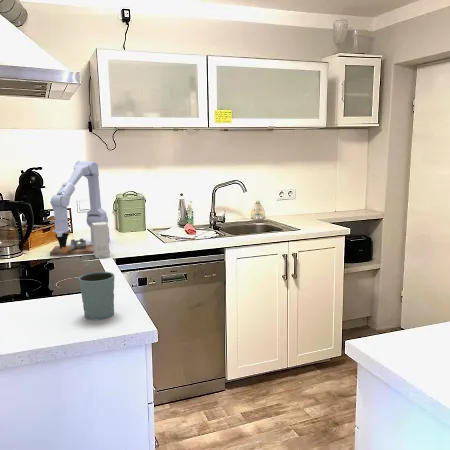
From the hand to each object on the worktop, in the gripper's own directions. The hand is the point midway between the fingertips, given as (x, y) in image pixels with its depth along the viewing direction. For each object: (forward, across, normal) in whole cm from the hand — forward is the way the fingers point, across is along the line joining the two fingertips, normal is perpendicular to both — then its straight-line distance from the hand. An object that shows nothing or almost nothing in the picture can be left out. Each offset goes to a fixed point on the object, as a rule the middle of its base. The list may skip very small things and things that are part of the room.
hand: (63, 249), depth 214 cm
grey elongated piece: (+1, -4, +4) cm, 6 cm away
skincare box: (+3, +6, +18) cm, 19 cm away
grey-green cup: (+3, +84, +23) cm, 88 cm away
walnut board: (+3, -7, +4) cm, 9 cm away
